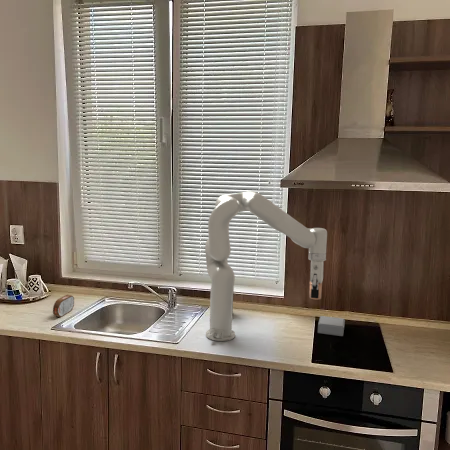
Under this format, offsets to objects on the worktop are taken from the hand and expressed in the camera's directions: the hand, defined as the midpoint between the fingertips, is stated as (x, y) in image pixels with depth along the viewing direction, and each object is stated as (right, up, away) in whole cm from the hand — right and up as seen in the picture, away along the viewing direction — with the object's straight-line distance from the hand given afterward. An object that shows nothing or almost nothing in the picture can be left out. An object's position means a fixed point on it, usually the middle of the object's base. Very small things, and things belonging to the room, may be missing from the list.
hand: (315, 295), depth 201 cm
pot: (0, -1, 0) cm, 1 cm away
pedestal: (+8, -16, +3) cm, 18 cm away
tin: (-117, -11, +14) cm, 118 cm away
